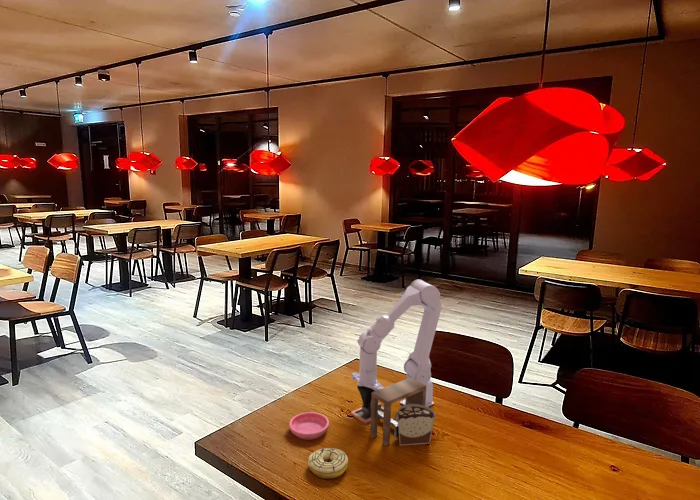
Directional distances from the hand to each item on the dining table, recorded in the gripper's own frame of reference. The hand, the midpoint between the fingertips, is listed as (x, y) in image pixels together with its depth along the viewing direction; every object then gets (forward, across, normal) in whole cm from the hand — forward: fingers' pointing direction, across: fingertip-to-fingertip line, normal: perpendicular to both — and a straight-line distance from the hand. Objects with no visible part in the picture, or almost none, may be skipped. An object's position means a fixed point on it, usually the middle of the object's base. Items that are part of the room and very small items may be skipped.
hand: (366, 405), depth 150 cm
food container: (+2, +20, +1) cm, 20 cm away
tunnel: (+2, +15, 0) cm, 15 cm away
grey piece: (+1, +10, 0) cm, 10 cm away
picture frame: (+2, +2, 0) cm, 3 cm away
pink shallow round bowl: (+2, -2, -22) cm, 22 cm away
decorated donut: (+2, +16, -28) cm, 32 cm away
